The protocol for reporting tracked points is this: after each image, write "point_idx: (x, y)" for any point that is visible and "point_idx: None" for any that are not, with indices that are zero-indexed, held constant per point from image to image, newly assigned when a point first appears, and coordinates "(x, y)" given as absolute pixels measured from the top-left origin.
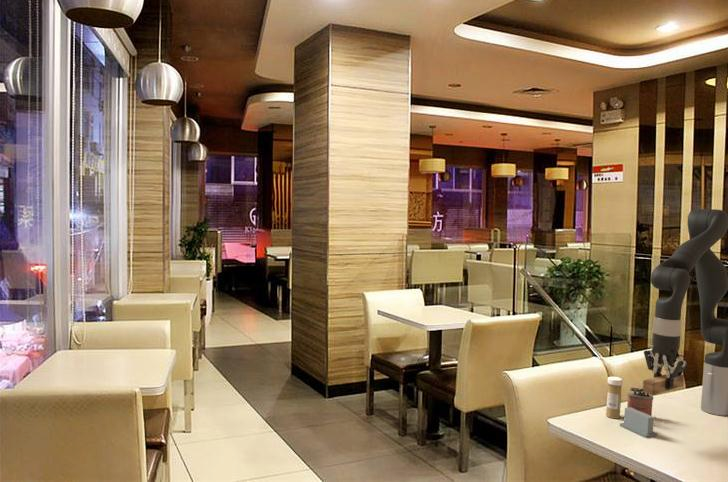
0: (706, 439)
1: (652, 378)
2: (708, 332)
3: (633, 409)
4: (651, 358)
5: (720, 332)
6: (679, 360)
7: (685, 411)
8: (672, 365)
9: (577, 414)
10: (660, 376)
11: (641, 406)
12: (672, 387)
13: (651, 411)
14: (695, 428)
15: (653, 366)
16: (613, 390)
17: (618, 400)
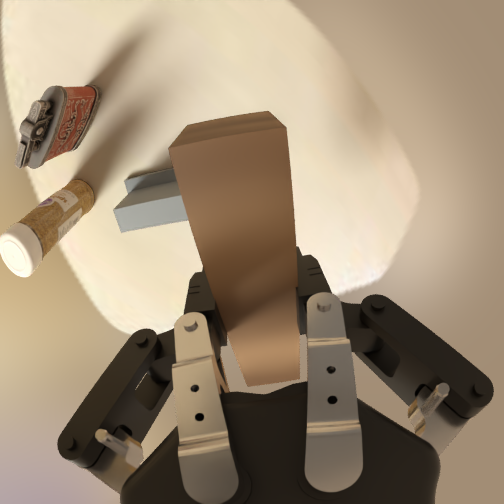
0: (273, 33)
1: (241, 356)
2: None
3: (132, 212)
4: (130, 423)
5: None
6: (442, 435)
7: None
8: (326, 373)
9: (77, 272)
10: (229, 314)
11: (72, 125)
12: (312, 259)
13: (87, 90)
14: (193, 4)
15: (164, 371)
16: (49, 249)
17: (67, 217)
